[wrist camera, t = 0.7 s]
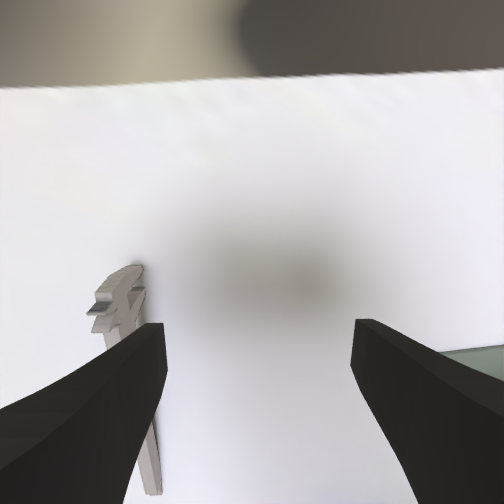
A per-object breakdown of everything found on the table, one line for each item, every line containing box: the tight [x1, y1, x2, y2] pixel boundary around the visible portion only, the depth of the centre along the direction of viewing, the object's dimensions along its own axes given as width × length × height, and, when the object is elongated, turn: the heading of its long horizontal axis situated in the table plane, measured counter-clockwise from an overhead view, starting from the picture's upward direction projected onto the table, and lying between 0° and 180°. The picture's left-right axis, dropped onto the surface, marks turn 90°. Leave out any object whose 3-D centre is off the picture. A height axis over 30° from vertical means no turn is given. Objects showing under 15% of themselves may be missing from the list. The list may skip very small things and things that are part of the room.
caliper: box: [86, 266, 162, 495], centre depth 20 cm, size 20×1×6 cm, turn 1°
